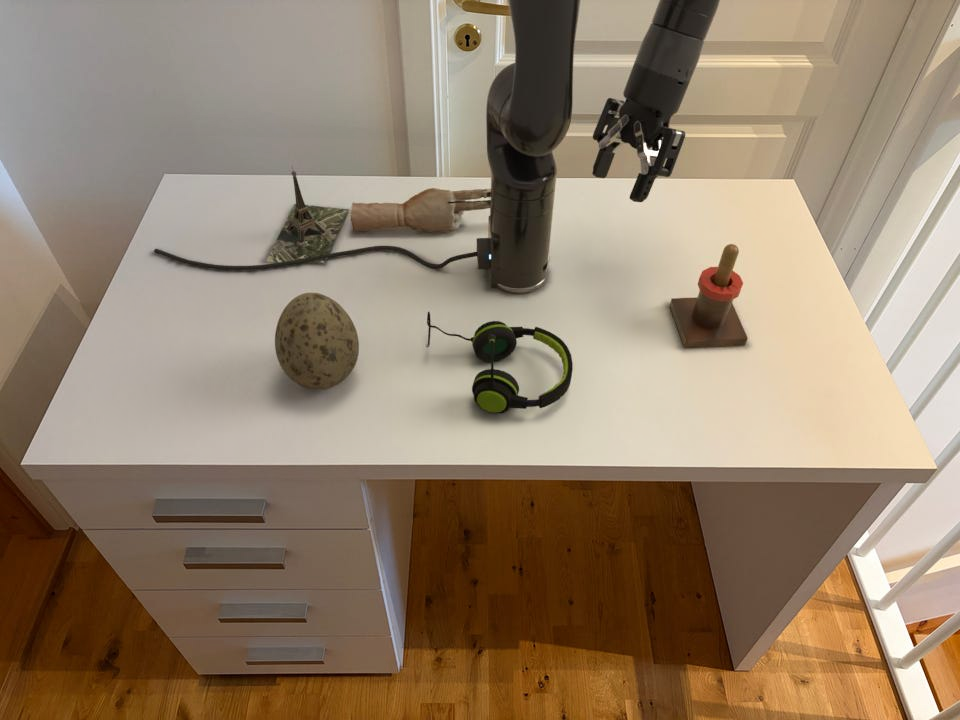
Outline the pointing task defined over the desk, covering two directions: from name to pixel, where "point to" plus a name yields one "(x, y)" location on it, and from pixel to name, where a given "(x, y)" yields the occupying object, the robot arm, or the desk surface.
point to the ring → (719, 292)
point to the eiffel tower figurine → (307, 231)
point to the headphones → (499, 387)
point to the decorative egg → (316, 342)
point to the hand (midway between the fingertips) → (616, 188)
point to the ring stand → (710, 312)
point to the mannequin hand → (420, 211)
